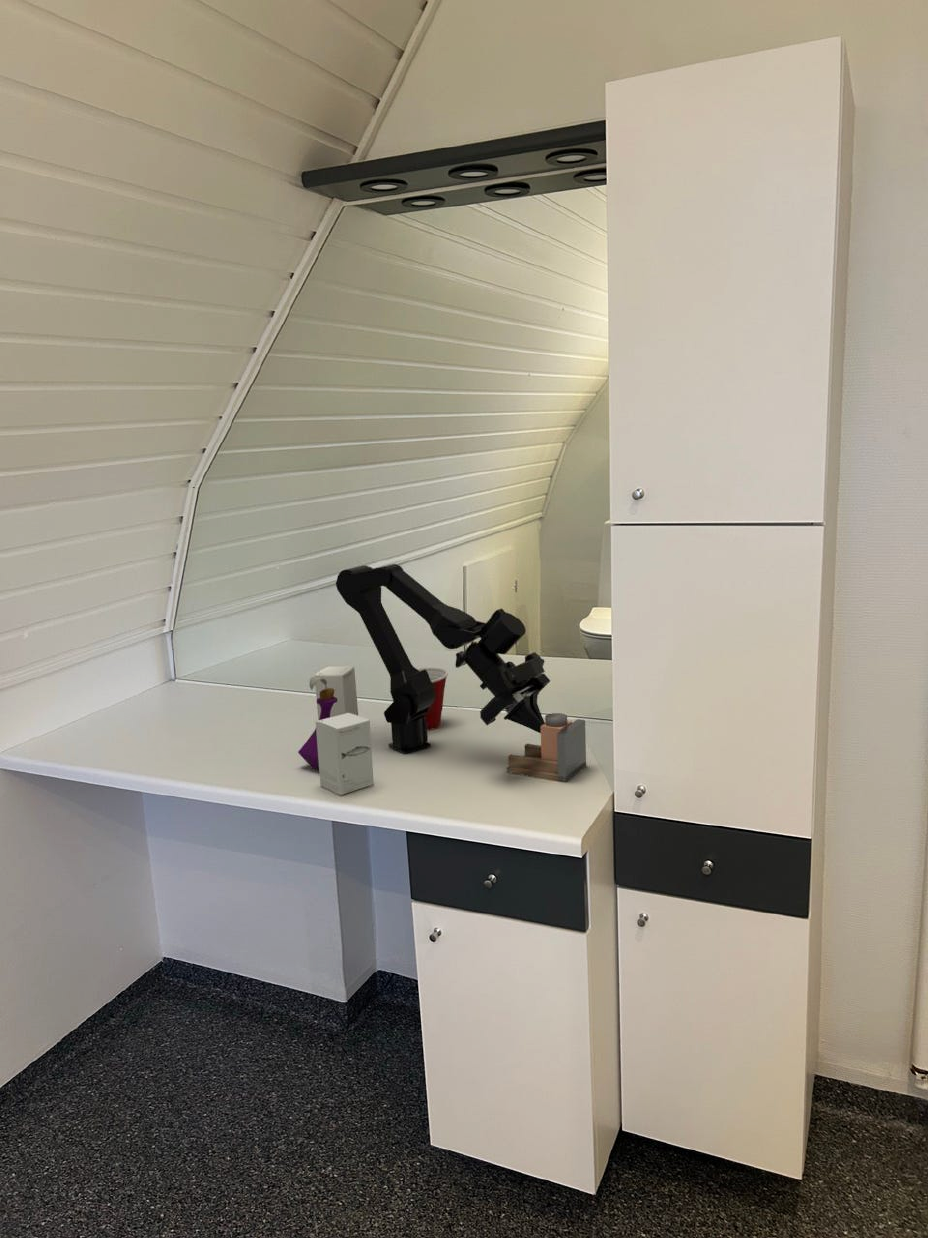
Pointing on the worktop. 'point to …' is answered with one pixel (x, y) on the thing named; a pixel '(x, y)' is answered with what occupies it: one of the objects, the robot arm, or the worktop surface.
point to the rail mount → (568, 752)
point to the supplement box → (344, 753)
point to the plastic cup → (435, 709)
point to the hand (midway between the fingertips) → (545, 732)
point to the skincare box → (339, 689)
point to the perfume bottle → (326, 703)
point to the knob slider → (552, 734)
